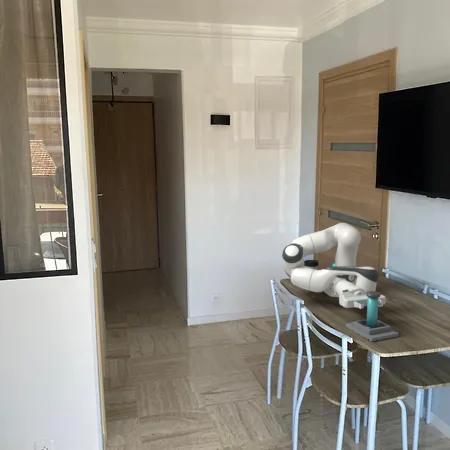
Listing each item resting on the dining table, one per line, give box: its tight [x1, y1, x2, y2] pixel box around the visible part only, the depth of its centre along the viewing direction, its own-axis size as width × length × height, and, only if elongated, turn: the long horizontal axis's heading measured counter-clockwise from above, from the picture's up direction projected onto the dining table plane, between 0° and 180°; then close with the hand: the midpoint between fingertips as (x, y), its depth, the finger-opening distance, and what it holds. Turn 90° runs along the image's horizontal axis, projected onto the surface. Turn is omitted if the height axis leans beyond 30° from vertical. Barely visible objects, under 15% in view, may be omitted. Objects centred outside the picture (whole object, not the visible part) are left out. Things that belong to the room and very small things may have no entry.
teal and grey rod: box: [365, 290, 382, 329], centre depth 205 cm, size 6×6×16 cm
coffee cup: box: [304, 259, 319, 270], centre depth 274 cm, size 8×8×15 cm
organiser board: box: [345, 318, 399, 342], centre depth 207 cm, size 18×14×4 cm
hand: (372, 306), depth 206 cm, fingers open, 8 cm apart
